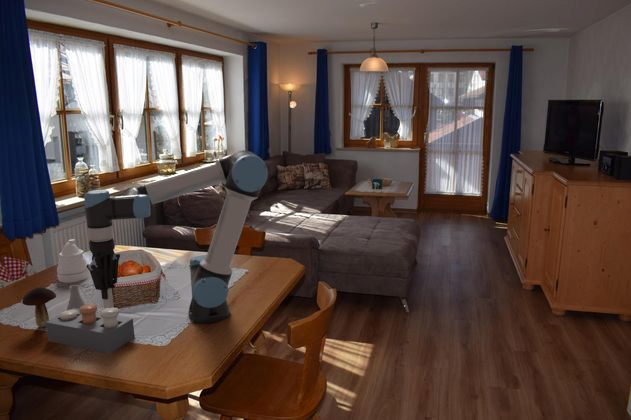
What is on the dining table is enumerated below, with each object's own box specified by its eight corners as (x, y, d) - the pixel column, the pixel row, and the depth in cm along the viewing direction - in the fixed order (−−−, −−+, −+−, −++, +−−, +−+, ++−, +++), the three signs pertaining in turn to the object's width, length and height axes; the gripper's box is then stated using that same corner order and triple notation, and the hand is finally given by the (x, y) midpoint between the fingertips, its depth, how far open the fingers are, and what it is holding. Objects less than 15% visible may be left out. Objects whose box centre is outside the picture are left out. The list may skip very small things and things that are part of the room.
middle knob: (103, 326, 180) (100, 305, 178) (91, 333, 174) (88, 311, 173) (90, 323, 181) (87, 303, 180) (77, 330, 176) (75, 309, 175)
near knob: (124, 329, 176) (122, 308, 175) (112, 337, 171) (110, 315, 170) (111, 327, 178) (108, 306, 177) (99, 334, 173) (96, 313, 171)
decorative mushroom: (37, 336, 181) (31, 296, 178) (19, 328, 187) (13, 289, 184) (66, 324, 190) (61, 285, 187) (48, 317, 196) (43, 280, 193)
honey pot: (95, 275, 239) (90, 237, 235) (69, 284, 229) (64, 245, 225) (78, 270, 246) (73, 233, 242) (52, 279, 236) (47, 240, 231)
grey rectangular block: (134, 337, 180) (132, 318, 178) (110, 353, 169) (107, 333, 167) (75, 326, 189) (73, 308, 187) (48, 341, 178) (45, 322, 176)
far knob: (83, 331, 183) (81, 311, 182) (71, 338, 178) (68, 317, 176) (71, 329, 185) (68, 308, 183) (58, 336, 180) (55, 315, 178)
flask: (79, 315, 198) (76, 290, 196) (62, 313, 199) (59, 289, 197) (91, 307, 205) (88, 283, 203) (74, 306, 206) (71, 282, 204)
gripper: (106, 232, 174) (113, 298, 180) (76, 243, 163) (85, 313, 168) (124, 234, 172) (131, 300, 177) (95, 245, 160) (103, 316, 166)
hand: (108, 306), depth 173 cm, fingers closed
